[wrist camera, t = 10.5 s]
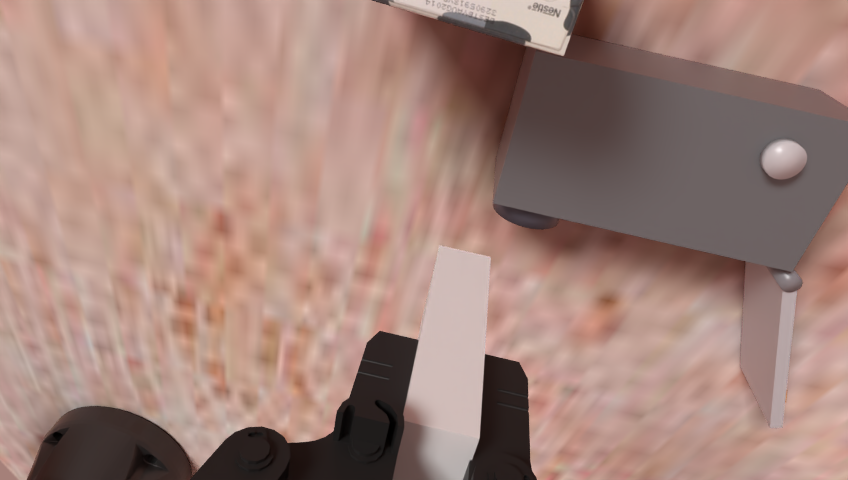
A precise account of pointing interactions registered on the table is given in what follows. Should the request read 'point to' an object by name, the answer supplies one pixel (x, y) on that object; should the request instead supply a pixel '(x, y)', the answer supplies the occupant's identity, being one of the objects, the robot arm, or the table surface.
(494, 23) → the candy bar box
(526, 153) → the case
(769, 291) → the door
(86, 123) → the table surface
